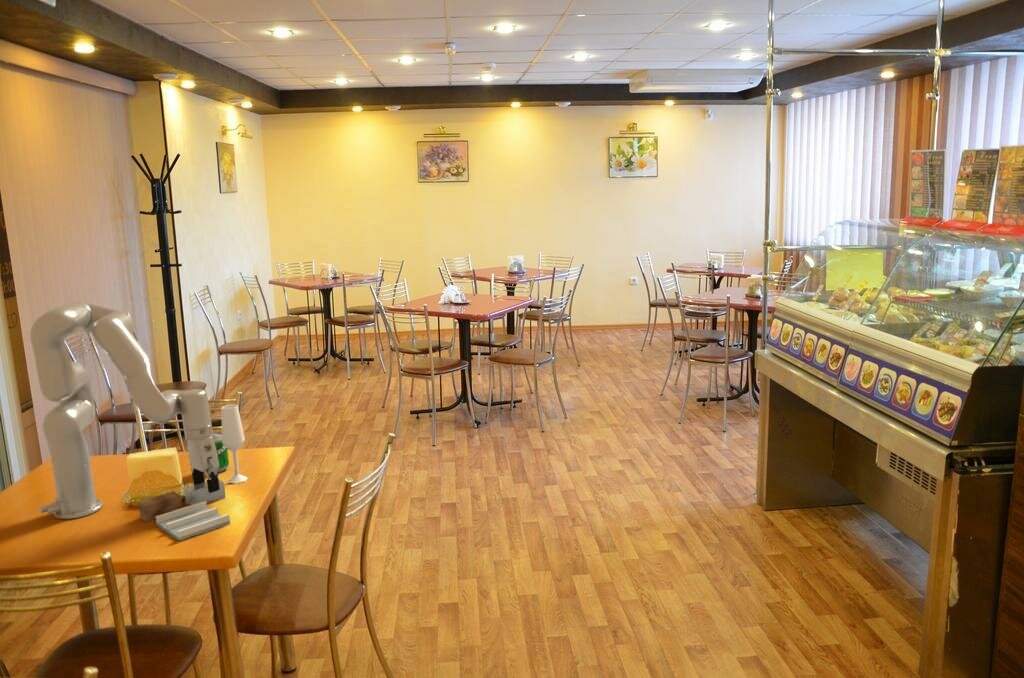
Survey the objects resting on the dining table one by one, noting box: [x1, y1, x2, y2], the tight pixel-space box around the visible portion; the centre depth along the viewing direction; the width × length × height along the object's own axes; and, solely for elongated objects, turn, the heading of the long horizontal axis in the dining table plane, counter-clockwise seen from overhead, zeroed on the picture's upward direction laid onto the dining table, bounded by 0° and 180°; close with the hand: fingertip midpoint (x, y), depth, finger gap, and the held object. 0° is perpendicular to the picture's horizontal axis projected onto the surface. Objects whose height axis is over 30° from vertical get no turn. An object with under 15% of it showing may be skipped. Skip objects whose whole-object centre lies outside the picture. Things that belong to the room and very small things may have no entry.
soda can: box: [207, 431, 230, 474], centre depth 258 cm, size 8×8×12 cm
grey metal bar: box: [183, 478, 226, 506], centre depth 234 cm, size 10×5×5 cm, turn 131°
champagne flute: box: [221, 404, 249, 483], centre depth 247 cm, size 7×7×24 cm
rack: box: [155, 501, 231, 542], centre depth 218 cm, size 14×15×3 cm
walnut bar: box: [137, 491, 183, 523], centre depth 225 cm, size 10×5×5 cm, turn 135°
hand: (206, 487), depth 234 cm, fingers open, 9 cm apart
